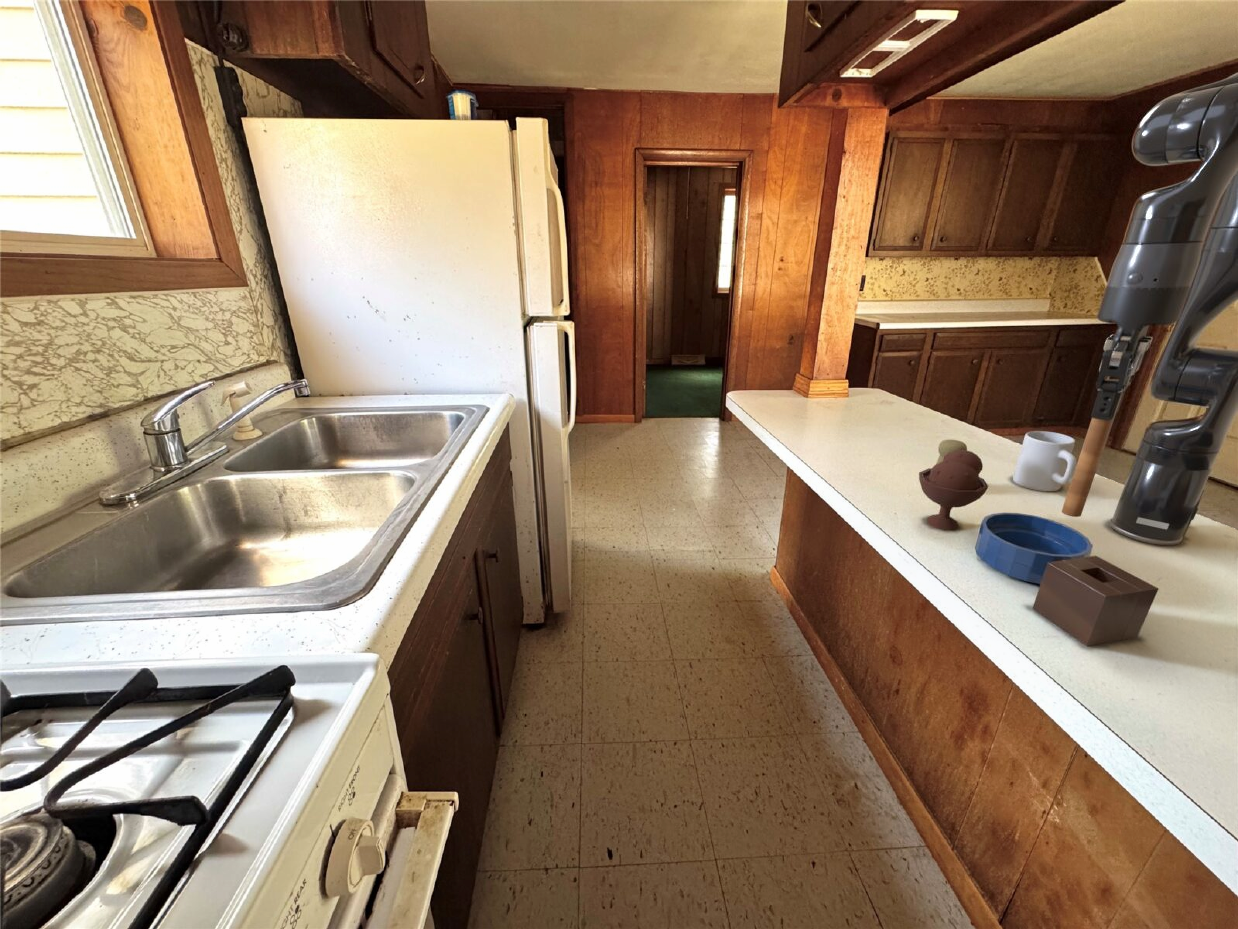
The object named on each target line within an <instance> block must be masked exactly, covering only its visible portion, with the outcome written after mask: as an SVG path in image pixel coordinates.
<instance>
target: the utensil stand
mask: <svg viewBox="0 0 1238 929" xmlns="http://www.w3.org/2000/svg"><path fill="white" fill-rule="evenodd" d="M1159 589H1160V588H1159V587H1157V586H1156V585H1155V586H1154V585H1153V584H1151V583H1149V582H1147V581H1145V580H1144V579H1141V578H1139V577H1138V576H1135V575H1134V574H1132V573H1130V572H1128V571H1126V570H1124V569H1123V568H1120V567H1118V566H1116V565H1114V564H1112V563H1110V561H1107V560H1105V559H1103V558H1101V557H1099V556H1097V555H1092V556H1091V555H1090V556H1089V557H1083V558H1076V559H1069V560H1062V561H1055V562H1048V563H1047V566H1046V569H1045V572H1044V575H1043V578H1042V581H1041V584H1039V588H1038V590H1037V594H1036V596H1035V600H1034V603H1033V605H1032V610H1034V611H1035V612H1036V613H1038V614H1039V615H1041V616H1042V617H1044V618H1045V619H1047V620H1048V621H1050V622H1051V623H1053V624H1054V625H1056V626H1057V627H1058V628H1060V629H1061V630H1063V631H1064V632H1065V633H1067V634H1068V635H1070V636H1071V637H1073V638H1074V639H1076V640H1077V641H1079V642H1080V643H1081V644H1083V645H1084V646H1086V647H1089V646H1094V645H1095V646H1096V645H1102V644H1107V643H1113V642H1118V641H1126V640H1132V639H1137V638H1138V637H1139V634H1140V632H1141V631H1142V627H1143V626H1144V623H1145V621H1146V618H1147V617H1148V614H1149V612H1150V610H1151V607H1152V606H1153V602H1154V601H1155V598H1156V596H1157V594H1158V591H1159Z"/></svg>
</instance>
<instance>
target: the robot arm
mask: <svg viewBox="0 0 1238 929" xmlns="http://www.w3.org/2000/svg"><path fill="white" fill-rule="evenodd" d="M1130 146H1131V152H1132V154H1133V157H1134V158H1135V159H1136V161H1137V162H1139V163H1141V164H1142V165H1145V166H1148V167H1165V166H1172V165H1179V164H1180V165H1181V164H1187V163H1195V162H1197V163H1198V162H1202V163H1201V164H1200V165H1199V167H1198V168H1197V169H1196V170H1195V171H1194V172H1193V173H1192V174H1191V175H1190V176H1188V177H1187V178H1186V179H1184V180H1183V181H1180V182H1178V183H1175V184H1171V185H1168V186H1165V187H1164V186H1163V187H1160V188H1155V189H1153V190H1149V191H1147V192H1145V193H1143V194H1141V195H1140V196H1139V197H1138V198H1137V199H1136V200H1135V202H1134V205H1133V206H1132V209H1131V213H1130V216H1129V219H1128V220H1129V221H1128V222H1127V226H1126V229H1125V232H1124V236H1123V239H1122V242H1121V243H1122V244H1121V245H1120V248H1119V250H1118V252H1117V255H1116V257H1115V259H1114V260H1113V261H1114V262H1113V264H1112V267H1111V270H1110V273H1109V276H1108V279H1107V283H1106V286H1105V288H1104V292H1103V296H1102V298H1101V301H1100V306H1099V309H1098V311H1097V312H1098V313H1097V315H1096V318H1097V320H1098V321H1100V322H1102V323H1107V324H1116V325H1117V329H1116V331H1115V333H1114V334H1111V335H1110V336H1108V337H1106V339H1105V342H1104V345H1103V351H1104V352H1102V355H1101V356H1102V359H1101V362H1100V365H1099V369H1098V372H1099V373H1098V379H1097V381H1096V383H1095V386H1096V387H1095V389H1096V390H1097V395H1096V398H1095V401H1094V404H1093V407H1092V411H1091V414H1090V417H1091V419H1092V418H1095V419H1101V420H1111V419H1112V418H1113V417H1114V415H1115V412H1116V409H1117V406H1118V403H1119V400H1120V397H1121V394H1122V393H1123V394H1122V397H1121V400H1120V403H1119V406H1118V409H1117V412H1116V415H1117V414H1118V413H1119V410H1120V408H1121V404H1122V401H1123V399H1124V395H1125V393H1126V390H1127V389H1128V387H1129V386H1131V384H1132V381H1133V380H1134V379H1135V376H1136V375H1135V374H1136V372H1138V371H1139V369H1140V368H1141V366H1142V363H1143V360H1144V358H1145V355H1146V352H1147V351H1148V350H1149V349H1150V348H1151V344H1152V342H1153V337H1154V336H1147V333H1148V331H1149V330H1148V329H1149V327H1150V326H1167V325H1172V324H1173V326H1172V328H1171V330H1170V333H1169V335H1168V338H1167V340H1166V342H1165V344H1164V347H1163V349H1162V351H1161V353H1160V355H1159V358H1158V360H1157V363H1156V365H1155V368H1154V370H1153V373H1152V376H1151V378H1150V383H1149V384H1150V385H1149V394H1150V396H1151V398H1153V399H1154V400H1157V401H1161V402H1166V403H1168V402H1169V403H1174V404H1180V405H1187V406H1192V407H1193V406H1194V407H1199V408H1205V411H1204V413H1203V414H1201V415H1198V416H1197V415H1196V416H1193V417H1187V418H1182V419H1167V420H1165V419H1164V420H1158V421H1157V420H1156V421H1153V422H1151V423H1149V424H1148V425H1147V426H1146V428H1145V430H1144V432H1143V434H1142V438H1141V440H1140V443H1139V445H1138V449H1137V451H1136V455H1135V457H1134V459H1133V461H1132V464H1131V467H1130V470H1129V473H1128V476H1127V478H1126V480H1125V484H1124V486H1123V488H1122V492H1121V494H1120V497H1119V499H1118V503H1117V505H1116V507H1115V510H1114V512H1113V516H1112V518H1111V519H1110V521H1109V526H1110V528H1111V529H1112V530H1113V531H1115V532H1116V533H1119V534H1120V535H1122V536H1124V537H1127V538H1130V539H1133V540H1136V541H1139V542H1143V543H1148V544H1151V545H1152V544H1153V545H1160V546H1175V545H1180V544H1181V542H1182V540H1183V539H1184V538H1185V537H1186V534H1187V532H1188V529H1189V527H1190V526H1191V523H1192V521H1194V519H1195V517H1196V515H1197V513H1198V510H1199V505H1200V502H1201V500H1202V498H1203V496H1204V494H1205V486H1206V484H1207V481H1208V480H1209V477H1210V475H1211V473H1212V470H1213V468H1214V466H1215V463H1216V460H1217V458H1218V456H1219V454H1220V452H1221V450H1222V447H1223V445H1224V442H1225V441H1226V438H1227V436H1228V434H1229V431H1230V429H1231V427H1232V424H1233V423H1234V420H1235V418H1236V416H1237V414H1238V349H1237V350H1236V349H1224V348H1213V347H1201V346H1197V344H1198V342H1199V339H1200V338H1201V336H1202V334H1203V333H1204V332H1205V330H1206V329H1207V328H1208V327H1209V326H1210V325H1211V323H1213V322H1214V321H1215V320H1216V319H1217V318H1218V317H1219V316H1220V315H1222V314H1223V313H1224V312H1225V311H1226V310H1227V309H1228V308H1229V307H1231V306H1232V305H1233V304H1235V303H1236V302H1237V301H1238V72H1235V73H1234V74H1232V75H1230V76H1228V77H1227V78H1224V79H1221V80H1218V81H1216V82H1212V83H1208V84H1204V85H1200V86H1197V87H1193V88H1190V89H1187V90H1184V91H1181V92H1179V93H1175V94H1173V95H1170V96H1168V97H1165V98H1164V99H1162V100H1161V101H1159V102H1158V103H1156V104H1154V106H1153V107H1151V109H1150V110H1148V111H1147V112H1146V114H1145V115H1144V116H1143V117H1142V119H1141V120H1140V121H1139V123H1138V124H1137V126H1136V128H1135V129H1134V132H1133V135H1132V138H1131V144H1130ZM1107 379H1119V381H1109V380H1107ZM1125 385H1126V386H1125ZM1116 415H1115V416H1116Z"/></svg>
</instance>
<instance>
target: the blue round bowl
mask: <svg viewBox="0 0 1238 929" xmlns="http://www.w3.org/2000/svg"><path fill="white" fill-rule="evenodd" d="M974 550H975V554H976V556H977V557H978V558H979V559H980V560H981V561H982V562H983V563H985V564H986V565H988V566H989V567H991V568H993V569H994V570H996V571H998V572H1000V573H1002V574H1004V575H1007V576H1008V577H1011V578H1014V579H1017V580H1020V581H1023V582H1026V583H1027V582H1028V583H1032V584H1037V585H1038V584H1039V585H1040V584H1041V581H1042V578H1043V575H1044V572H1045V569H1046V566H1047V563H1048V562H1055V561H1062V560H1069V559H1076V558H1083V557H1090V556H1091V553H1092V551H1093V543H1092V542H1091V541H1090V539H1089V538H1088V537H1087V536H1086V535H1084V534H1083V533H1081V532H1080V531H1079V530H1077V529H1074V528H1073V527H1071V526H1068V525H1066V524H1064V523H1062V522H1058V521H1055V520H1053V519H1050V518H1047V517H1042V516H1038V515H1033V514H1027V513H1021V512H997V513H991V514H988V515H986V516H984V517H983V518H982V520H981V524H980V527H979V530H978V534H977V538H976V542H975V546H974Z"/></svg>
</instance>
